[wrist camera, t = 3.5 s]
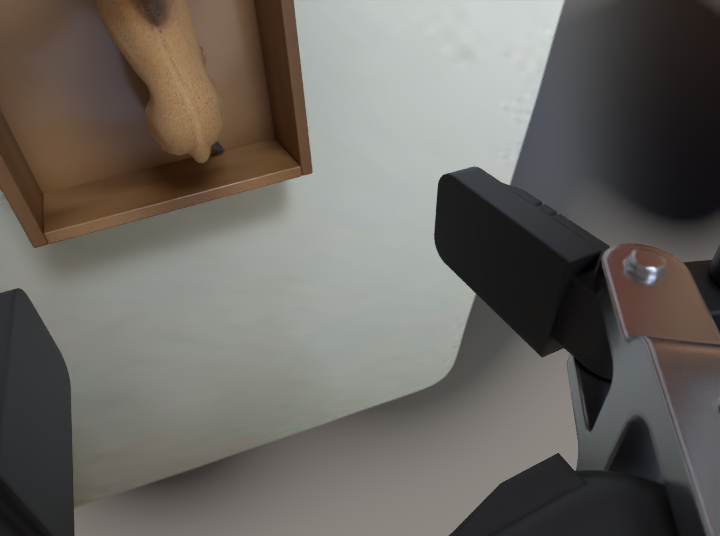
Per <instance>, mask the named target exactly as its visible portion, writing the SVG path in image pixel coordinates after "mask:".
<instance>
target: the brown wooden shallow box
mask: <svg viewBox="0 0 720 536" xmlns="http://www.w3.org/2000/svg"><path fill="white" fill-rule="evenodd" d="M186 2H187V5H188V8H189V11H190V15H191V19H192V23H193V27H194V30H195V34H196V37H197V41H198V45H199V46H201V47H202V48H203V49H204V51H205V53H206V64H205V69H206V72H207V75H208V76H209V77H210V78H211V79H212V81H213V82H214V83H215V85H216V86H217V88H218V89H219V92H220V94H221V96H222V100H223V104H224V111H225V121H224V128H223V132H222V134H221V136H220V137H219V139H218V140H217V141H218V142H219V144H220V145H221V146H223V147H224V149H225V151H224V152H223V153H215V152H213V151H212V150H210V156H209V158H208V160H207V161H206V162H205V163H198V162H196V161H195V160H194V158H193V157H192V156H191V155H190V154H189V153H187V154H184V155H176V154H170V153H168V152H166V151H164V150H163V149H162V147H161V145H160V144H159V143H158V142H157V141H156V140H155V139H154V138H153V137H152V135H151V133H150V132H149V130H148V127H147V125H146V119H145V108H146V106H147V103H148V102H149V99H150V92H149V89H148V87H147V85H146V84H145V83H144V81H143V80H142V79H141V78H140V77H139V76H138V75H137V73H136V72H135V71H134V69H133V68H132V67H131V65H130V64H129V62H128V61H127V60H126V58H125V57H124V55H123V54H122V53H121V51H120V50H119V48H118V47H117V45H116V44H115V43H114V41H113V40H112V38H111V36H110V35H109V33H108V31H107V29H106V27H105V25H104V23H103V21H102V19H101V17H100V15H99V12H98V10H97V7H96V4H95V1H94V0H0V188H1V190H2V191H3V193H4V195H5V197H6V199H7V200H8V202H9V204H10V206H11V208H12V209H13V211H14V213H15V215H16V217H17V219H18V220H19V222H20V224H21V226H22V228H23V229H24V231H25V233H26V235H27V237H28V238H29V240H30V242H31V244H32V246H33V247H34V248H36V247H40V246H43V245H47V244H48V243H49V244H51V243H54V242H58V241H62V240H66V239H69V238H73V237H77V236H80V235H84V234H88V233H92V232H95V231H99V230H103V229H106V228H110V227H114V226H118V225H121V224H125V223H129V222H133V221H136V220H140V219H144V218H147V217H151V216H155V215H159V214H162V213H166V212H170V211H173V210H177V209H181V208H185V207H188V206H192V205H196V204H199V203H203V202H207V201H211V200H214V199H218V198H222V197H225V196H229V195H233V194H237V193H240V192H244V191H248V190H251V189H255V188H259V187H263V186H266V185H270V184H274V183H277V182H281V181H285V180H289V179H292V178H296V177H300V176H302V175H307V174H311V173H312V163H311V154H310V145H309V136H308V127H307V118H306V109H305V100H304V91H303V82H302V73H301V64H300V55H299V46H298V37H297V28H296V19H295V10H294V1H293V0H186Z"/></svg>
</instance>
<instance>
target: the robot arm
mask: <svg viewBox="0 0 720 536" xmlns="http://www.w3.org/2000/svg"><path fill="white" fill-rule="evenodd" d="M434 239H435V245H436V248H437V251H438V254H439V256H440V257H441V259H442V260H443V261H444V263H445V264H446V265H447V266H448V267H450V268H451V269H452V270H453V271H454V272H455V273H456V274H457V275H458V276H459V277H460V278H461V279H462V280H463V281H464V282H465V283H466V284H467V285H468V286H469V287H470V288H471V289H472V290H473V291H474V292H475V293H476V294H477V295H478V296H479V297H480V298H481V299H482V300H484V302H486V304H488V305H489V306H490V307H491V308H492V309H493V310H494V311H495V312H496V313H497V314H498V315H499V316H500V317H501V318H502V319H503V320H504V321H505V322H506V323H507V324H508V325H509V326H510V327H511V328H512V329H513V330H514V331H515V332H516V333H517V334H518V335H519V336H520V337H522V339H524V341H526V342H527V343H528V344H529V345H530V346H531V347H532V348H533V349H534V350H535V351H536V352H537V353H538V354H539V355H540V356H541V357H544V356H547V355H549V354H551V353H554V352H556V351H558V350H560V349H563V348H565V349H566V350H567V351H568V352H569V353H570V355H569V358H568V361H567V371H568V378H569V384H570V391H571V398H572V405H573V411H574V418H575V425H576V431H577V438H578V462H577V468H576V471H574V470H573V469H572V468H571V467H570V465H569V464H568V463H567V462H566V461H565V460H564V459H563V457H562V456H561V455H560V454H559V453H557V454H555V455H554V456H552V457H550V458H548V459H546V460H544V461H542V462H540V463H538V464H536V465H534V466H533V467H531V468H529V469H527V470H525V471H523V472H521V473H519V474H517V475H516V476H514V477H512V478H510V479H508V480H506V481H504V482H502V483H501V484H500V485H499V486H498V487H497V488H496V489H495V490H494V491H493V492H492V493H491V494H490V495H489V496H488V497H487V498H486V499H485V500H484V501H483V502H482V503H481V504H480V505H479V506H478V507H477V508H476V509H475V510H474V511H473V512H472V513H471V514H470V515H469V516H468V517H467V518H466V519H465V520H464V521H463V522H462V523H461V524H460V525H459V526H458V528H456V530H454V532H452V533H451V534H450V535H449V536H720V245H719V248H718V250H717V251H716V253H715V255H714V257H713V260H706V261H694V262H682V261H680V260H679V259H678V258H677V257H675V256H673V255H672V254H670V253H668V252H666V251H663V250H661V249H659V248H655V247H652V246H647V245H643V244H631V243H627V244H619V245H615V246H612V247H610V246H609V245H607V244H605V243H604V242H602V241H601V240H599V239H598V238H596V237H595V236H593V235H591V234H590V233H588V232H587V231H586V230H584V229H582V228H581V227H579V226H578V225H576V224H575V223H573V222H572V221H570V220H568V219H567V218H566V217H564V216H562V215H561V214H559V215H557V213H556V211H555V210H553V209H552V208H550V207H549V206H547V205H542V202H541V201H539V200H538V199H536V198H535V197H533V196H532V195H530V194H528V193H527V192H526V191H524V190H521V189H519V188H516V187H513V186H510V185H507V184H504V183H502V182H500V181H499V180H497V179H496V178H494V177H493V176H491V175H490V174H488V173H487V172H485V171H484V170H482V169H480V168H479V167H470V168H467V169H463V170H459V171H456V172H452V173H448V174H445V175H443V176H442V177H441V178H440V180H439V183H438V192H437V205H436V219H435V233H434ZM0 536H74V501H73V462H72V424H71V387H70V379H69V374H68V370H67V367H66V364H65V361H64V359H63V356H62V354H61V352H60V350H59V349H58V347H57V345H56V343H55V342H54V340H53V338H52V337H51V335H50V333H49V331H48V330H47V328H46V326H45V325H44V323H43V321H42V319H41V318H40V316H39V314H38V312H37V311H36V309H35V307H34V306H33V304H32V302H31V300H30V299H29V297H28V296H27V294H26V293H25V292H24V291H23V290H22V289H20V288H17V289H13V290H10V291H6V292H2V293H0Z"/></svg>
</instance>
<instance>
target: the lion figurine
mask: <svg viewBox="0 0 720 536" xmlns="http://www.w3.org/2000/svg"><path fill="white" fill-rule="evenodd" d="M94 1H95V4H96V7H97V10H98V12H99V15H100V17H101V19H102V21H103V23H104V25H105V27H106V29H107V31H108V33H109V35H110V36H111V38H112V40H113V41H114V43H115V44H116V45H117V47H118V48H119V50H120V51H121V53H122V54H123V55H124V57H125V58H126V60H127V61H128V62H129V64H130V65H131V67H132V68H133V69H134V71H135V72H136V73H137V75H138V76H139V77H140V78H141V79H142V80H143V81H144V83H145V84H146V85H147V87H148V89H149V92H150V99H149V102H148V103H147V106H146V108H145V119H146V125H147V127H148V130H149V132H150V133H151V135H152V137H153V138H154V139H155V140H156V141H157V142H158V143H159V144H160V145H161V147H162V149H163V150H164V151H166V152H168V153H170V154H176V155H184V154H187V153H189V154H190V155H191V156H192V157H193V158H194V160H195V161H196V162H198V163H205V162H206V161H207V160H208V158H209V156H210V150H212V151H213V152H215V153H223V152H224V151H225V149H224V147H223V146H221V145H220V144H219V142H218V141H217V140H218V139H219V137H220V136H221V134H222V132H223V128H224V121H225V111H224V104H223V100H222V96H221V94H220V92H219V89H218V88H217V86H216V85H215V83H214V82H213V81H212V79H211V78H210V77H209V76H208V75H207V72H206V69H205V64H206V53H205V51H204V49H203V48H202V47H201V46H199V45H198V41H197V37H196V34H195V30H194V27H193V23H192V19H191V15H190V11H189V8H188V5H187V2H186V0H94Z"/></svg>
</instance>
